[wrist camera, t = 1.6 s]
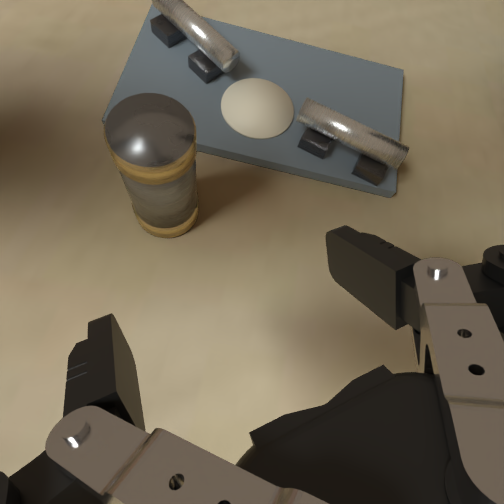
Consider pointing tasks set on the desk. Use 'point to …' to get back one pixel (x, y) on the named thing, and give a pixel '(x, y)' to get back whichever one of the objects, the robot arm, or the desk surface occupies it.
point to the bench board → (270, 99)
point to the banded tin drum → (156, 160)
